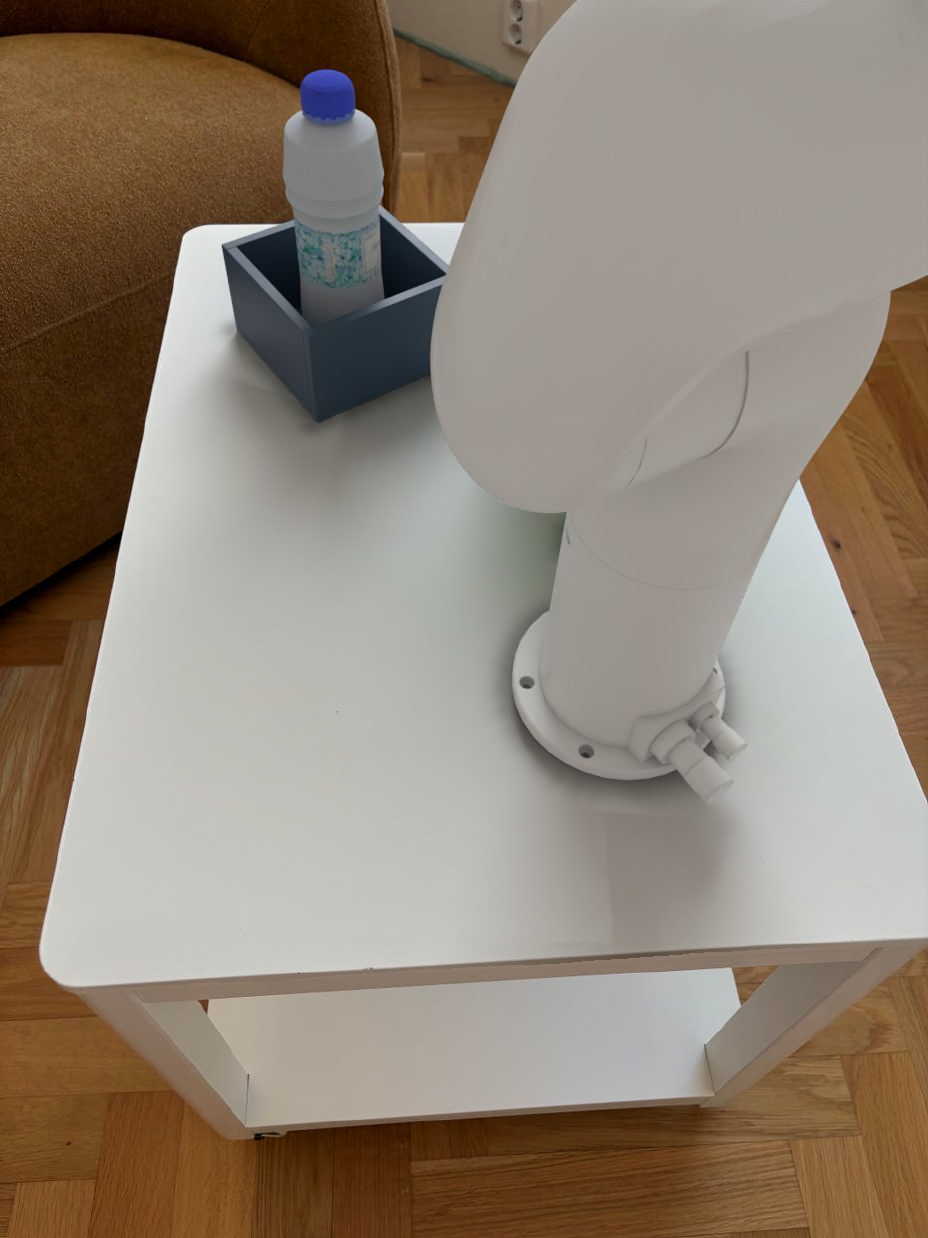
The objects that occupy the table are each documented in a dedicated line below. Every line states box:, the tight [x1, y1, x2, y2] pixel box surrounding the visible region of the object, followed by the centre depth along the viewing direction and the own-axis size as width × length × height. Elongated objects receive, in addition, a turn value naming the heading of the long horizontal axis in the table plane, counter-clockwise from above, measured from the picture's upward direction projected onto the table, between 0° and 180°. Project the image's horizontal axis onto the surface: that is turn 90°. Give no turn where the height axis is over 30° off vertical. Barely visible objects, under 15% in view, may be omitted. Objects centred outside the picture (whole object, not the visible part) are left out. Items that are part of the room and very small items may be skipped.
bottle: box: [282, 69, 385, 327], centre depth 69 cm, size 7×7×20 cm
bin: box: [221, 203, 449, 423], centre depth 75 cm, size 13×13×8 cm
